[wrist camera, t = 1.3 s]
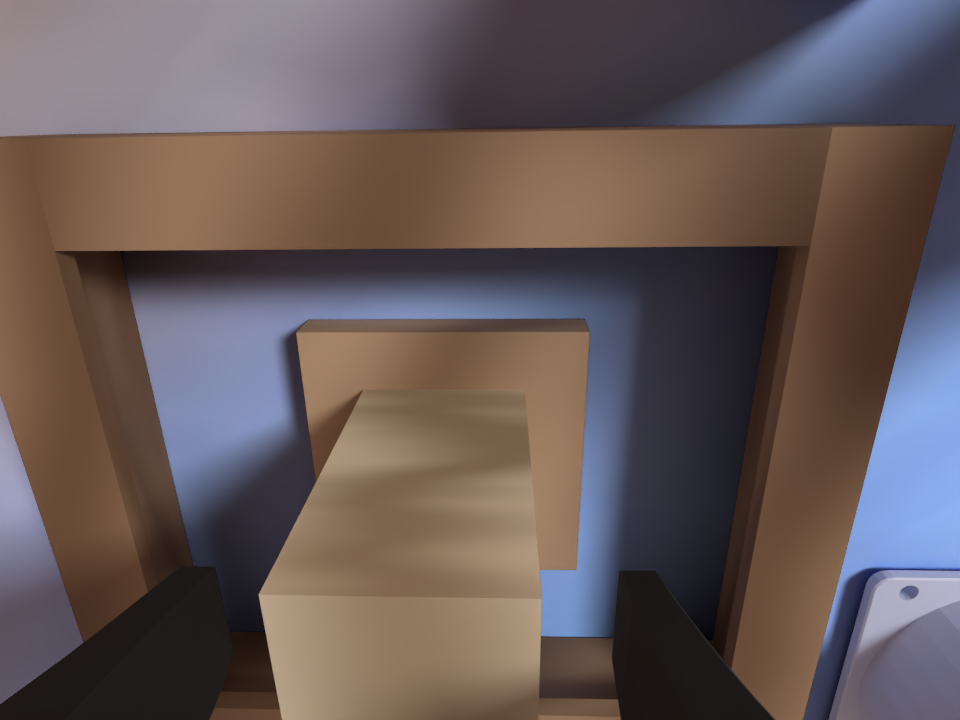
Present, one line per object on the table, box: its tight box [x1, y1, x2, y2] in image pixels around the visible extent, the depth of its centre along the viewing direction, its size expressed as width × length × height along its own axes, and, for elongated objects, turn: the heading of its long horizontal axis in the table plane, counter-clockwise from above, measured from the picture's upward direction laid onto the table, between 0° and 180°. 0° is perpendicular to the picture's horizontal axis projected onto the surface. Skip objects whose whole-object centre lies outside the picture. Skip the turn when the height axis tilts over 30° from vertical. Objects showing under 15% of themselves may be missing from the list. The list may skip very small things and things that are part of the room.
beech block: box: [259, 390, 542, 720], centre depth 13 cm, size 4×4×7 cm
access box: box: [0, 123, 955, 720], centre depth 15 cm, size 18×16×4 cm
